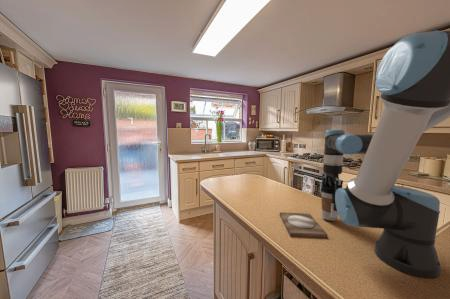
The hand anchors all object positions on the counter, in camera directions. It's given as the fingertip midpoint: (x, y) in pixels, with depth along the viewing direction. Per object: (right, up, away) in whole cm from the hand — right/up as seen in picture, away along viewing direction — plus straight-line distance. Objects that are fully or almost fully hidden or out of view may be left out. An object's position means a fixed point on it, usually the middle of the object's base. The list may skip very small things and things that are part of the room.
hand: (329, 213), depth 88 cm
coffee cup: (0, -2, 0) cm, 2 cm away
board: (-15, -3, -5) cm, 17 cm away
